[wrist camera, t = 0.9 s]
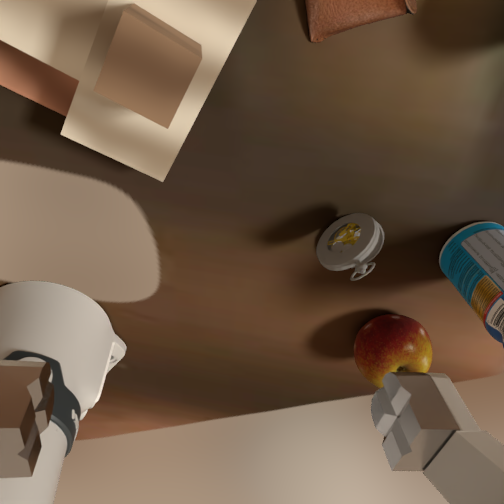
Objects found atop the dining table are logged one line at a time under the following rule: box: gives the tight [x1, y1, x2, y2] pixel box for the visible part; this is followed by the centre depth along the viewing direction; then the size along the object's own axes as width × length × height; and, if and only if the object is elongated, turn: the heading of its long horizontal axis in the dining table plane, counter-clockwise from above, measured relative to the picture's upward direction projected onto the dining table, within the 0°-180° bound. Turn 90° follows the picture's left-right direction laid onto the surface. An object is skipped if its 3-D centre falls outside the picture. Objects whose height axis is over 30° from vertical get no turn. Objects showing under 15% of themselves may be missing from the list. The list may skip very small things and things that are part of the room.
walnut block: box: [93, 3, 202, 129], centre depth 27 cm, size 5×5×5 cm
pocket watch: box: [316, 213, 384, 281], centre depth 41 cm, size 8×8×10 cm
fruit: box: [354, 314, 432, 388], centre depth 52 cm, size 10×9×8 cm
